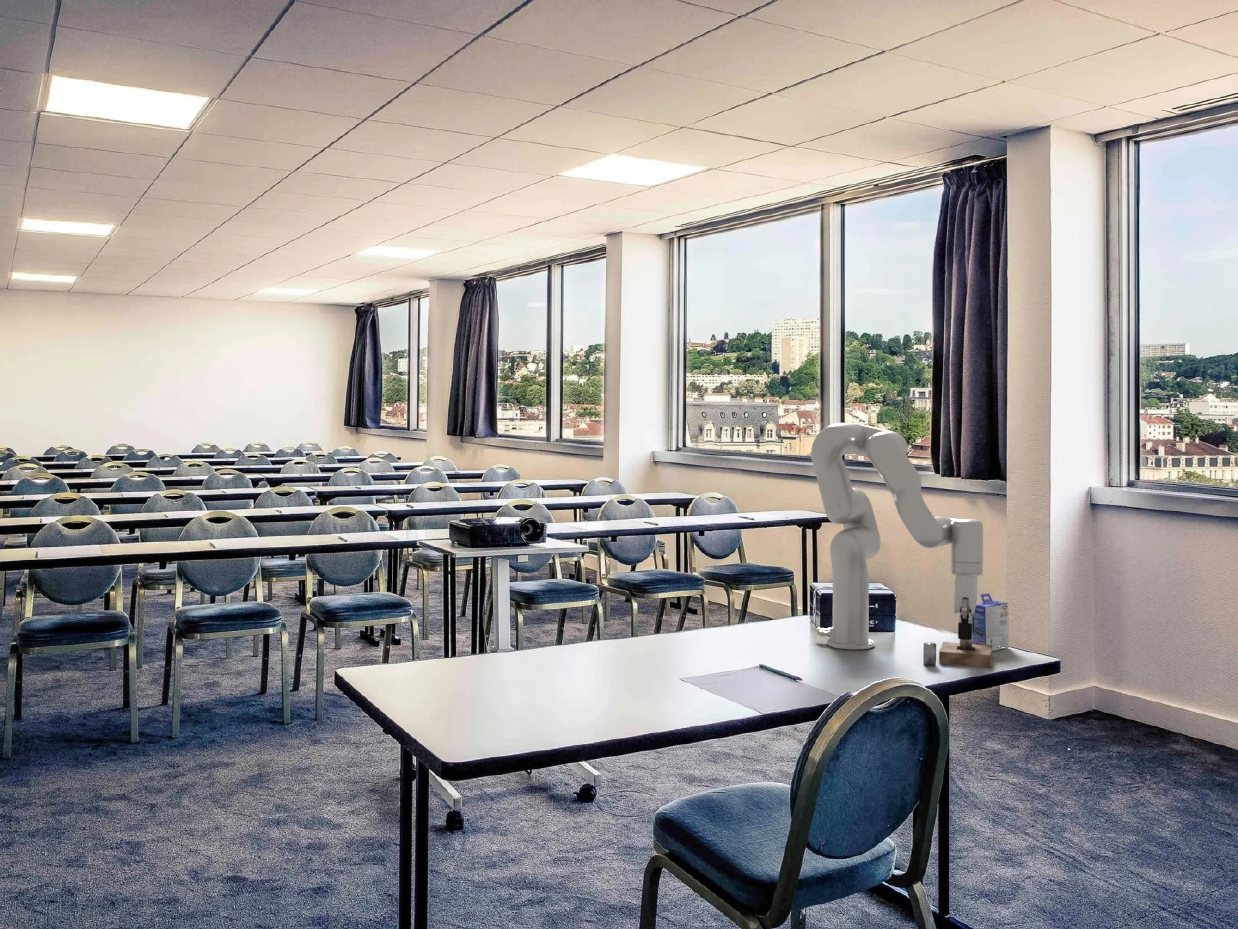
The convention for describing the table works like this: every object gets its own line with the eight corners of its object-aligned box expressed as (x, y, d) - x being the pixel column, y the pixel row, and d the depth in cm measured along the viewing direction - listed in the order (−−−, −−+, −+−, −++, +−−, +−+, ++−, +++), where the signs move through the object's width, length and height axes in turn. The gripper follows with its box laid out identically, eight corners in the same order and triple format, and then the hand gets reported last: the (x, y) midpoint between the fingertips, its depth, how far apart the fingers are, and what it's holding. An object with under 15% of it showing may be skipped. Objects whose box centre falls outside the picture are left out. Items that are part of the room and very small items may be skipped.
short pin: (922, 666, 256) (923, 644, 255) (923, 663, 258) (924, 641, 258) (935, 667, 254) (935, 645, 254) (936, 664, 257) (936, 642, 257)
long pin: (959, 661, 261) (959, 613, 260) (959, 658, 264) (960, 611, 263) (971, 662, 260) (972, 614, 259) (972, 659, 263) (972, 612, 262)
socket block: (939, 663, 258) (939, 651, 258) (942, 653, 270) (943, 641, 269) (990, 667, 254) (990, 655, 254) (991, 657, 265) (991, 645, 265)
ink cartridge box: (991, 644, 280) (992, 591, 279) (1009, 648, 275) (1010, 594, 275) (968, 649, 274) (969, 595, 274) (986, 653, 270) (987, 598, 269)
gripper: (953, 563, 270) (952, 628, 271) (948, 572, 254) (947, 641, 255) (984, 564, 267) (983, 630, 268) (981, 573, 251) (980, 643, 252)
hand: (966, 635), depth 262 cm, fingers open, 9 cm apart
